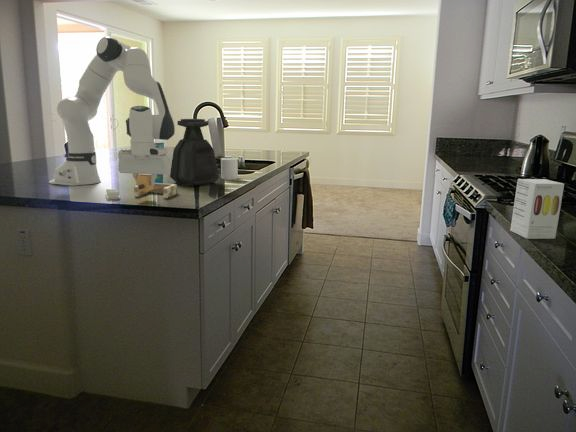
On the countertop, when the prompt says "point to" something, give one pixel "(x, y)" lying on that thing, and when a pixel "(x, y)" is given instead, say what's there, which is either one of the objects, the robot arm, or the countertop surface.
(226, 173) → the cup
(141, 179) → the connector
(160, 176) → the tube
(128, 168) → the robot arm
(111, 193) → the guide clip
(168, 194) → the end holder
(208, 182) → the dark grey vase
